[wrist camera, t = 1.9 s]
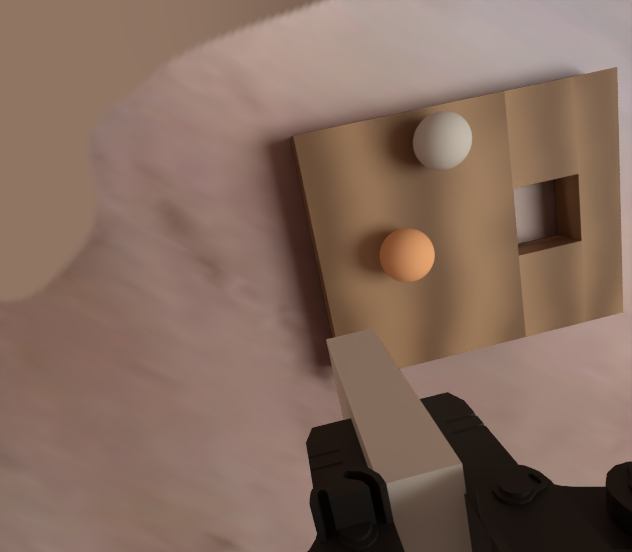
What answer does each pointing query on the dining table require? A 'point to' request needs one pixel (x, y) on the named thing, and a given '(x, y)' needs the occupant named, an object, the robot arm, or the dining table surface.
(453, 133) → the grey ball
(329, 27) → the dining table surface
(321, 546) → the robot arm
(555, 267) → the board
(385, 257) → the ball
